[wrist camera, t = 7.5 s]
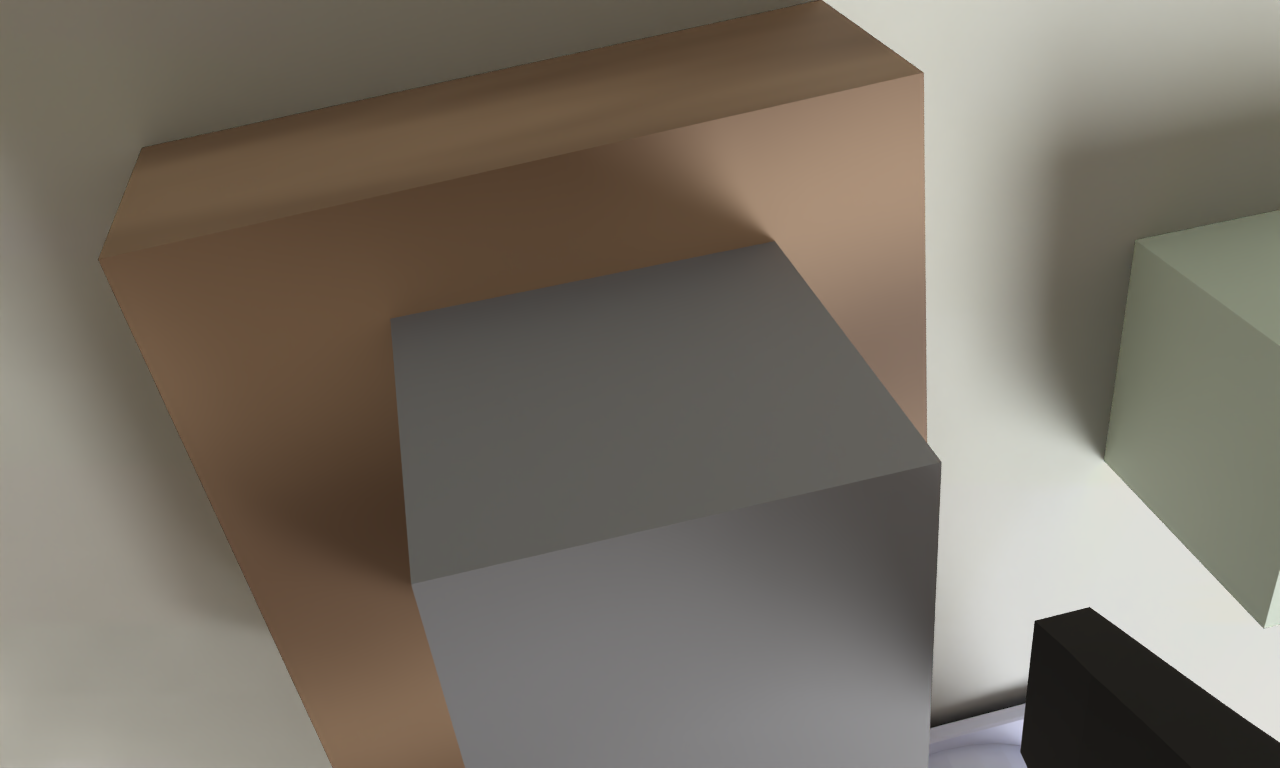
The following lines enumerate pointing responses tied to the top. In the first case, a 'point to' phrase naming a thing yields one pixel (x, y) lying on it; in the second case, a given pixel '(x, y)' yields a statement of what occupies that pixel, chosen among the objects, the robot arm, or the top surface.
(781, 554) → the gray cube
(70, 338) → the top surface
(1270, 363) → the sage cube
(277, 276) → the walnut block
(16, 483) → the top surface
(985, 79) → the top surface
